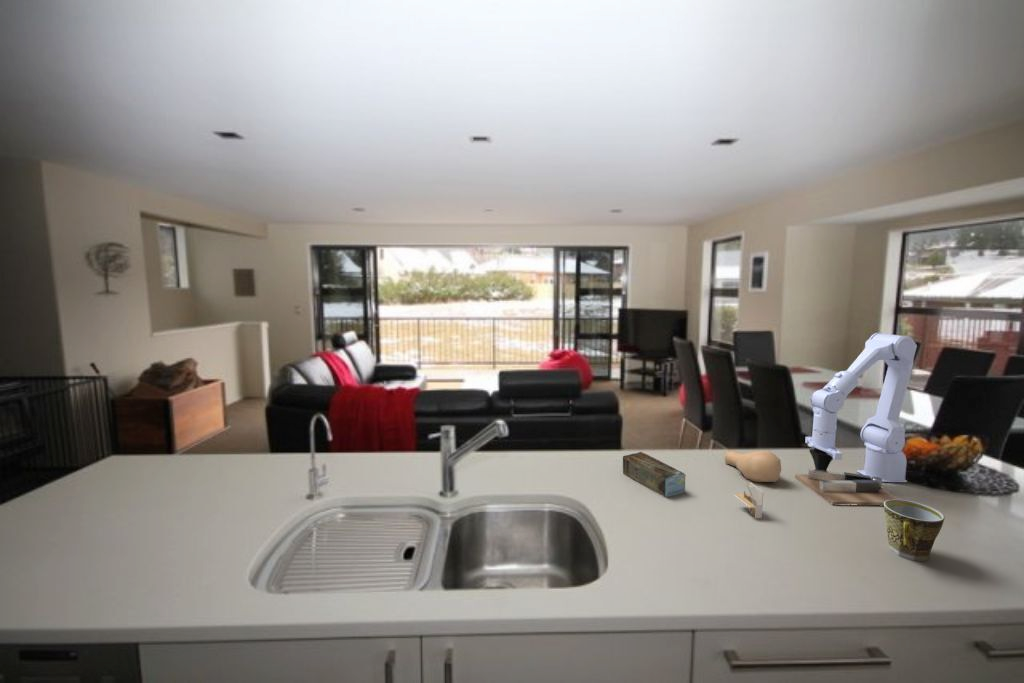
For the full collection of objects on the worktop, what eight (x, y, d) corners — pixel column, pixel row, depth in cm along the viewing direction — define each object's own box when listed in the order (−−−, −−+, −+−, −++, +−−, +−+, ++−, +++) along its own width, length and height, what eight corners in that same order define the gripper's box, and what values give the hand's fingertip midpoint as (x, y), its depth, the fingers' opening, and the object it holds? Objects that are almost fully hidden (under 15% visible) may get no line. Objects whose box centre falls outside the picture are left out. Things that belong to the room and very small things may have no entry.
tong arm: (880, 486, 131) (880, 477, 131) (882, 489, 129) (883, 480, 129) (807, 475, 139) (807, 466, 139) (808, 478, 137) (808, 469, 137)
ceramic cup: (884, 535, 108) (888, 495, 107) (942, 553, 101) (947, 510, 99) (872, 557, 100) (876, 513, 98) (934, 578, 92) (939, 531, 91)
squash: (762, 491, 133) (757, 460, 132) (716, 472, 152) (711, 446, 152) (792, 480, 135) (787, 451, 135) (743, 464, 155) (738, 438, 154)
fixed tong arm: (873, 489, 130) (874, 480, 129) (878, 492, 128) (879, 482, 128) (819, 489, 131) (819, 479, 130) (823, 492, 129) (823, 482, 128)
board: (858, 478, 140) (859, 475, 140) (906, 506, 122) (906, 502, 122) (794, 477, 141) (795, 474, 141) (832, 505, 123) (832, 501, 123)
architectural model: (749, 520, 116) (751, 492, 116) (734, 507, 123) (735, 481, 122) (762, 519, 117) (764, 492, 116) (746, 506, 124) (747, 480, 123)
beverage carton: (664, 498, 128) (665, 476, 127) (621, 474, 145) (621, 454, 145) (686, 493, 131) (686, 471, 131) (640, 469, 149) (641, 450, 148)
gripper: (796, 422, 144) (793, 464, 146) (825, 438, 130) (821, 483, 131) (819, 423, 144) (816, 464, 145) (851, 438, 129) (847, 484, 131)
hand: (820, 473), depth 138 cm, fingers closed
